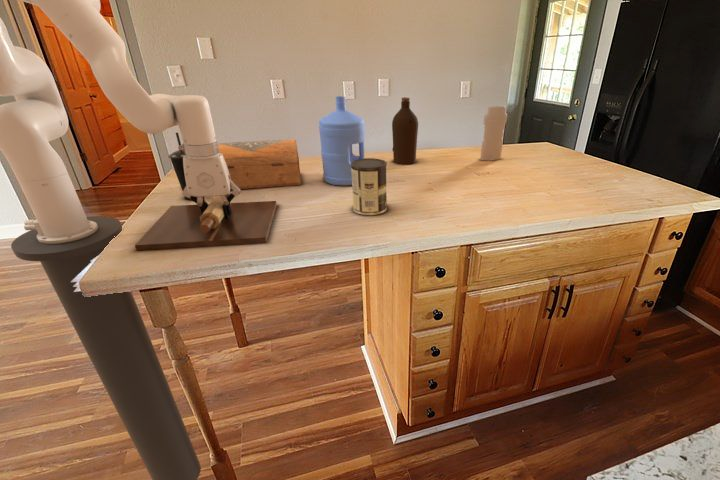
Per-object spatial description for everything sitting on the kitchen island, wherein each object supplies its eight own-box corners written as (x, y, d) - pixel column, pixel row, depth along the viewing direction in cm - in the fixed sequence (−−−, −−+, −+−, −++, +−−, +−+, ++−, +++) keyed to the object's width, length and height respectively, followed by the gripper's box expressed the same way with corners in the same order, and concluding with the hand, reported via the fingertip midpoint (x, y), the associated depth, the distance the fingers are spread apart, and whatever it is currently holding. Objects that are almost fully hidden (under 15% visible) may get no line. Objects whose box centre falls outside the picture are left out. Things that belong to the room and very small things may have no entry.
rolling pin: (197, 237, 96) (192, 221, 93) (219, 202, 116) (216, 188, 114) (216, 236, 96) (212, 220, 94) (235, 202, 117) (232, 187, 115)
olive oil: (421, 160, 167) (424, 97, 155) (408, 166, 159) (409, 100, 147) (401, 157, 172) (402, 95, 160) (387, 162, 165) (386, 98, 152)
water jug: (320, 186, 136) (312, 99, 122) (326, 173, 150) (319, 94, 136) (365, 186, 137) (362, 100, 123) (367, 173, 150) (364, 94, 136)
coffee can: (377, 200, 125) (376, 156, 118) (392, 211, 117) (393, 164, 110) (347, 206, 120) (344, 160, 113) (361, 218, 112) (359, 169, 105)
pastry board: (136, 250, 94) (134, 245, 93) (172, 210, 116) (170, 205, 115) (266, 242, 98) (265, 237, 97) (276, 205, 120) (276, 200, 120)
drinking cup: (211, 195, 127) (196, 131, 117) (192, 203, 121) (174, 136, 111) (195, 191, 130) (178, 129, 120) (175, 199, 124) (156, 133, 114)
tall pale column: (481, 161, 168) (487, 106, 157) (477, 158, 171) (483, 104, 160) (503, 159, 170) (511, 105, 159) (499, 157, 174) (506, 104, 163)
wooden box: (299, 172, 151) (295, 135, 144) (302, 185, 137) (297, 145, 130) (216, 177, 144) (207, 138, 137) (209, 192, 130) (199, 149, 123)
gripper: (159, 154, 93) (180, 225, 102) (234, 152, 95) (248, 221, 104) (170, 147, 99) (188, 214, 108) (240, 145, 102) (252, 211, 111)
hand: (217, 217), depth 106 cm, fingers closed on rolling pin, 4 cm apart
